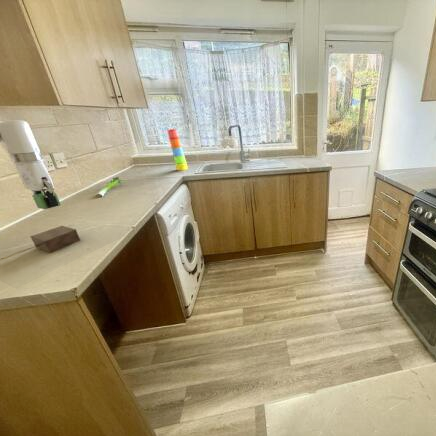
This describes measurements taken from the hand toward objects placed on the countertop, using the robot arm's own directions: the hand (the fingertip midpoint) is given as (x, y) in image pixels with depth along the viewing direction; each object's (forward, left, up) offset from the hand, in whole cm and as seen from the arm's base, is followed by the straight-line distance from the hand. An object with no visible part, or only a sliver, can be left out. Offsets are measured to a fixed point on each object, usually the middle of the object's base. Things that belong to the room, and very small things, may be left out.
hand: (49, 205), depth 93 cm
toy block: (0, 0, 0) cm, 0 cm away
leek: (+53, +55, -15) cm, 79 cm away
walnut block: (-3, -1, -15) cm, 16 cm away
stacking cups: (+115, +55, -15) cm, 128 cm away
